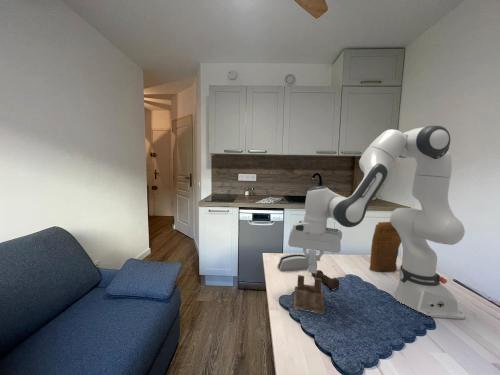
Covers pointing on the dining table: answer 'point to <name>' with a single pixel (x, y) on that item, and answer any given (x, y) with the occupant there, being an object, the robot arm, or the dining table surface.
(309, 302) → the clevis block
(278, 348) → the dining table surface
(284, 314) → the dining table surface
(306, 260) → the grey napkin holder
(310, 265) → the steel pin
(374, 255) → the pancake mix bag
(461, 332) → the dining table surface
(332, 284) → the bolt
